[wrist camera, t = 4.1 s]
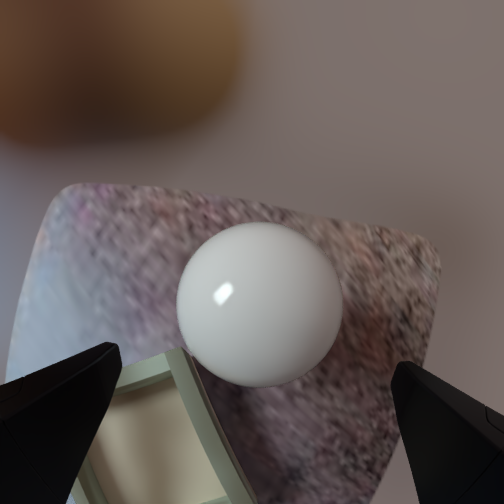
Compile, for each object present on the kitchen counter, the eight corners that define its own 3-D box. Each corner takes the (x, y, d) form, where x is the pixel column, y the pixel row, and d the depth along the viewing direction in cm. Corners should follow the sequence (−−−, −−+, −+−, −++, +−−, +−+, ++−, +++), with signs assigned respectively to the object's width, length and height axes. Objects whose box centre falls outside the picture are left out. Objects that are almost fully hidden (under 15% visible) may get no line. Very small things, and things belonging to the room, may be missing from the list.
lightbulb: (304, 399, 17) (369, 382, 7) (199, 390, 17) (136, 361, 8) (308, 303, 20) (357, 195, 10) (212, 294, 20) (180, 181, 11)
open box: (115, 529, 12) (96, 542, 9) (62, 398, 16) (38, 393, 14) (257, 496, 14) (258, 511, 11) (191, 356, 18) (180, 346, 16)
